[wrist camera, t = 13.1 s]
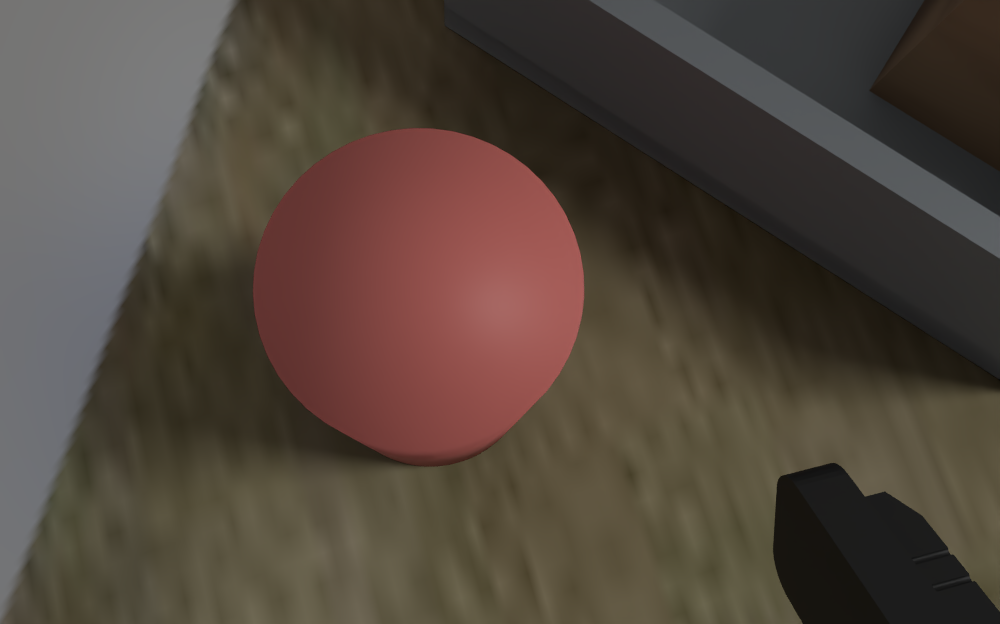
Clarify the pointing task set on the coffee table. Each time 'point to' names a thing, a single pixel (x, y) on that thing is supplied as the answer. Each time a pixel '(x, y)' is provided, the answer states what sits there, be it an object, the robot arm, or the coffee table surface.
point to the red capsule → (419, 292)
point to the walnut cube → (950, 74)
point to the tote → (781, 135)
